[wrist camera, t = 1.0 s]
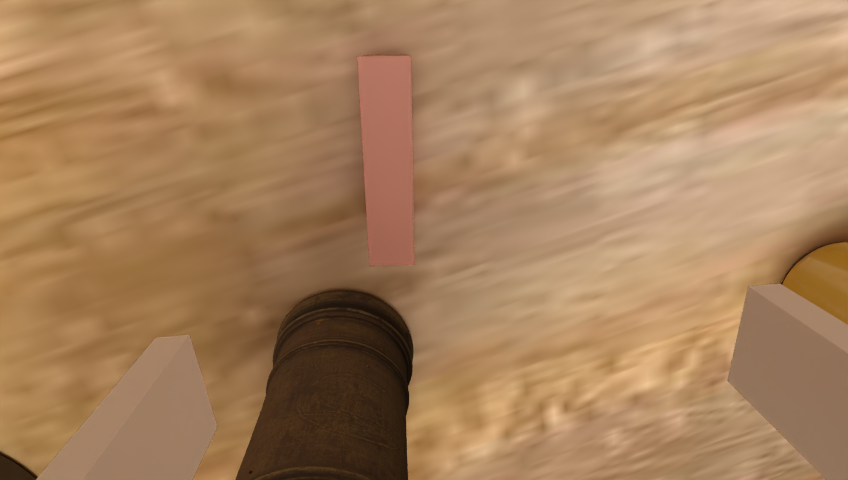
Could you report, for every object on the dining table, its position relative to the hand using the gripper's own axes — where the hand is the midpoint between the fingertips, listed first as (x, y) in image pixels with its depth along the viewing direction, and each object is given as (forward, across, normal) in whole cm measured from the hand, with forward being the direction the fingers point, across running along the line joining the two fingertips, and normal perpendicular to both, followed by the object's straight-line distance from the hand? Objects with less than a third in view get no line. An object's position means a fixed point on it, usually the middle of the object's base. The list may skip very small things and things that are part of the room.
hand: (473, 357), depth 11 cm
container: (+18, -6, -12) cm, 22 cm away
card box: (+18, -2, +2) cm, 18 cm away
